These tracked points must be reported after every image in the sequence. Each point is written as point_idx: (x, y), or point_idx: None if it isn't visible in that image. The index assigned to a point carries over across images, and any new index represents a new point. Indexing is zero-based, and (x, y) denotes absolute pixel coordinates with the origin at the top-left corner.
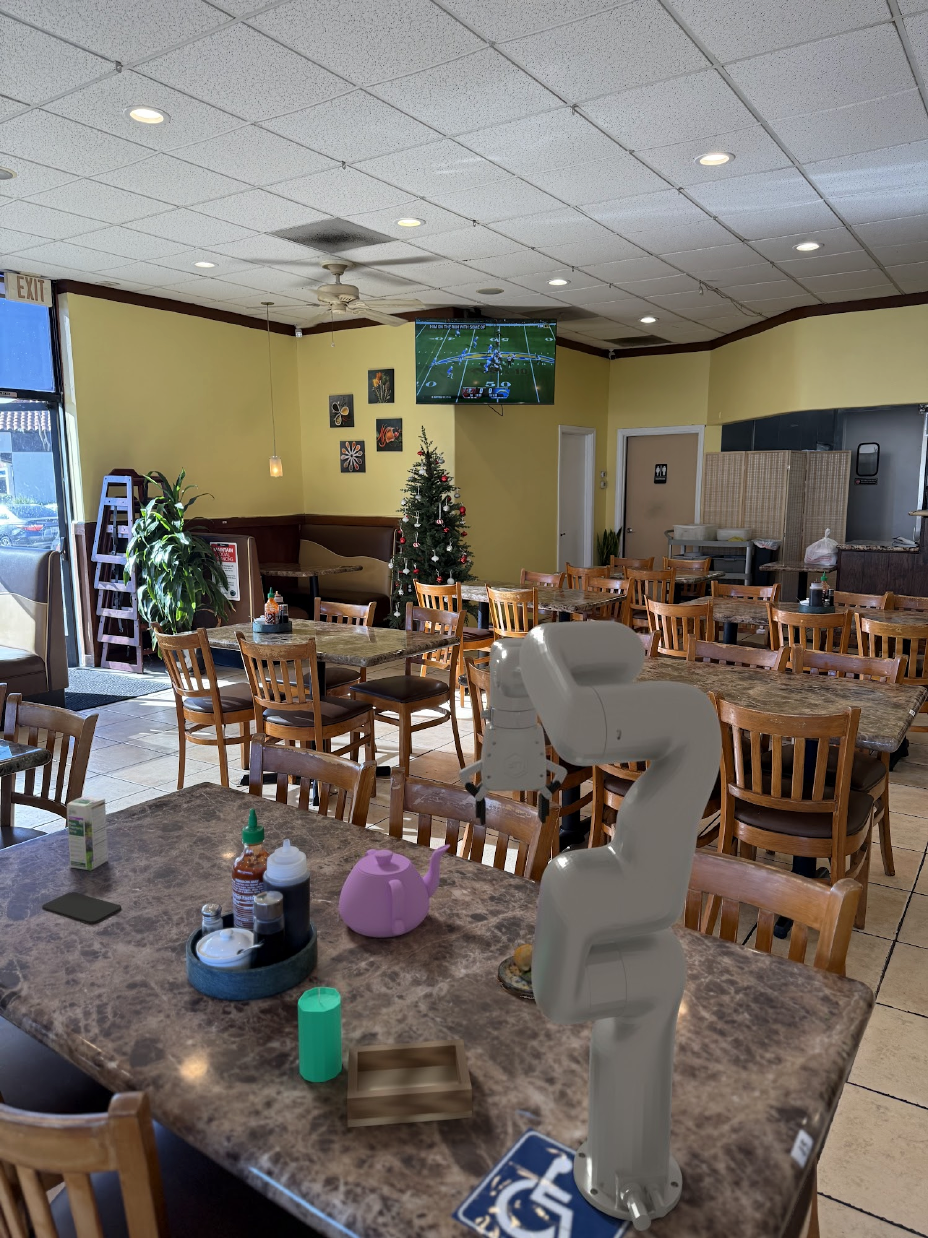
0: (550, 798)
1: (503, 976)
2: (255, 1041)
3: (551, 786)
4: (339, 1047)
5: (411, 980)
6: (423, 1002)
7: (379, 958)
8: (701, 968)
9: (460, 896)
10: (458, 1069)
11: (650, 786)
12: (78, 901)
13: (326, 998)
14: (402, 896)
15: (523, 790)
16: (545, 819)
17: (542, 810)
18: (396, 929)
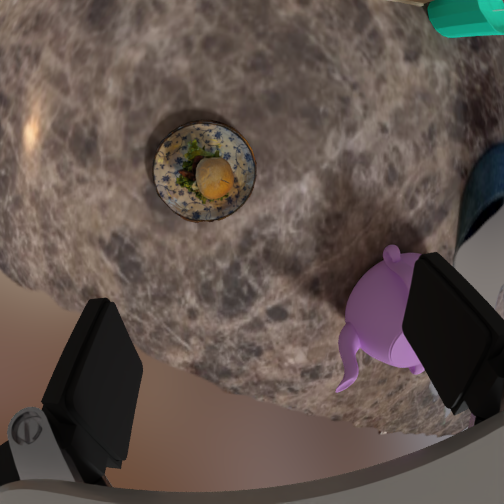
0: (22, 409)
1: (247, 163)
2: (495, 75)
3: (9, 481)
4: (444, 3)
5: (371, 164)
6: (356, 114)
7: (403, 214)
8: (12, 221)
9: (297, 351)
10: None
11: None
12: None
13: (489, 14)
14: (408, 279)
15: (203, 494)
16: (84, 308)
17: (84, 349)
18: (396, 246)
